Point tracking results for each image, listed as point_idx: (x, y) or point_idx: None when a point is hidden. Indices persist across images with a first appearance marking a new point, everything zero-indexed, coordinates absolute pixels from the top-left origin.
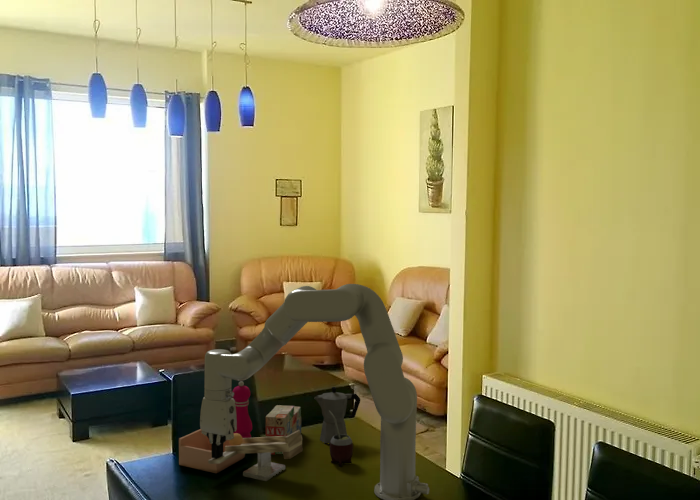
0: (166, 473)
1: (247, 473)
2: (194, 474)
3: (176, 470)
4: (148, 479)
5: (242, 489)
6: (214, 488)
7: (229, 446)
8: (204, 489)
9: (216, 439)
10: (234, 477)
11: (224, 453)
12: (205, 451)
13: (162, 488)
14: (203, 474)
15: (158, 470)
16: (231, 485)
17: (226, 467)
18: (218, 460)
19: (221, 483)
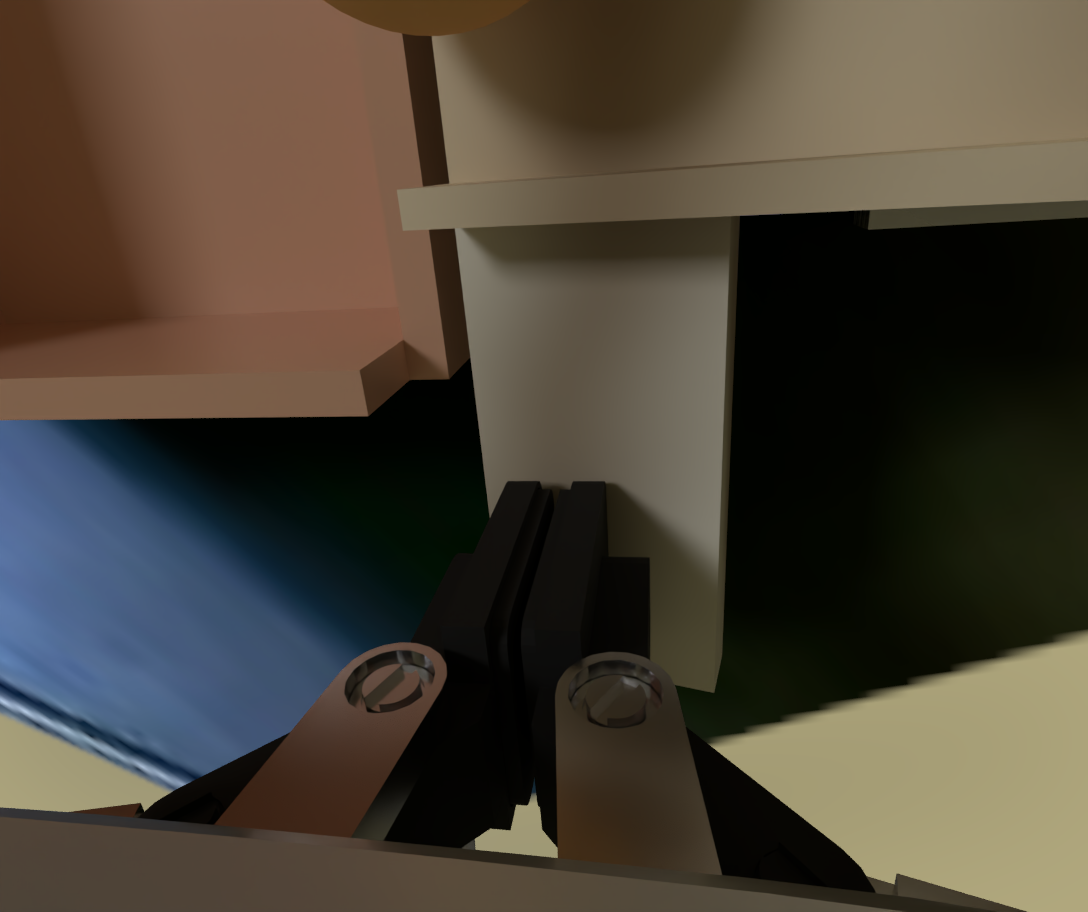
0: (130, 548)
1: (951, 224)
2: (331, 458)
3: (128, 461)
4: (144, 682)
5: (1050, 537)
6: (737, 623)
7: (527, 223)
8: None
9: (447, 775)
10: (768, 316)
11: (547, 365)
12: (208, 414)
13: None
14: (402, 417)
15: (28, 529)
16: (865, 506)
17: None
18: (700, 685)
19: (728, 511)
